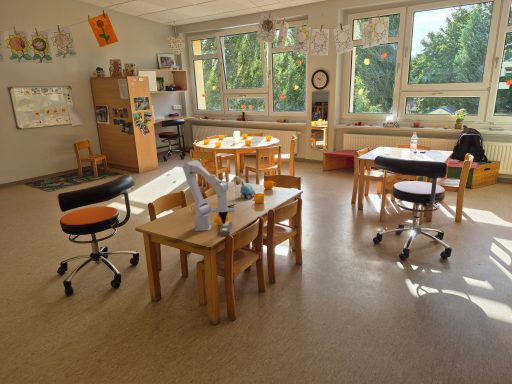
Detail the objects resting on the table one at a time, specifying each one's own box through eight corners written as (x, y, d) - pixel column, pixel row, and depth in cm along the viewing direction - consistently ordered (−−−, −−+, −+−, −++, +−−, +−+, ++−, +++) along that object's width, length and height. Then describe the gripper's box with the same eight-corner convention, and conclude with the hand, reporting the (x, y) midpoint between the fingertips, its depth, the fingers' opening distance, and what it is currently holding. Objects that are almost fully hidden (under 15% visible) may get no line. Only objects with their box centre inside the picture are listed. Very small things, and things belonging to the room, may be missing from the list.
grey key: (223, 228, 216) (223, 225, 215) (223, 226, 219) (223, 223, 218) (228, 228, 216) (227, 225, 215) (228, 226, 219) (228, 223, 218)
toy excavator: (238, 194, 288) (237, 174, 283) (256, 196, 281) (255, 175, 275) (233, 197, 280) (231, 177, 275) (251, 199, 273) (250, 178, 268)
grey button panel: (219, 235, 211) (219, 231, 210) (222, 225, 225) (222, 221, 225) (229, 235, 210) (229, 231, 210) (232, 225, 225) (231, 221, 224)
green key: (222, 233, 211) (221, 230, 210) (222, 231, 214) (222, 228, 213) (227, 233, 211) (226, 230, 210) (227, 231, 214) (227, 228, 213)
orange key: (224, 226, 222) (224, 223, 221) (225, 224, 224) (224, 221, 224) (229, 226, 221) (228, 223, 221) (229, 224, 224) (229, 221, 224)
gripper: (235, 199, 210) (236, 220, 214) (211, 200, 211) (213, 220, 215) (233, 203, 203) (235, 225, 207) (209, 204, 204) (211, 225, 208)
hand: (224, 223), depth 211 cm, fingers closed
